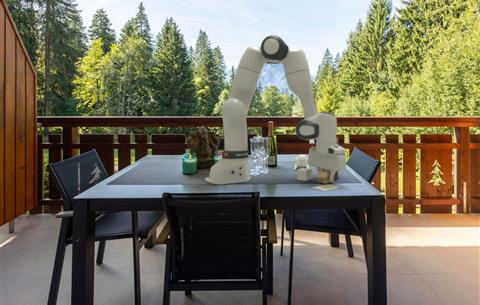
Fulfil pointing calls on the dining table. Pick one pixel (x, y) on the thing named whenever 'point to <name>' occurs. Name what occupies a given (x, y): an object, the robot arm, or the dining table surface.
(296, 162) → the white figurine
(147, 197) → the dining table surface
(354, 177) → the dining table surface
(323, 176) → the oak cube
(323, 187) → the card
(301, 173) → the grey cube
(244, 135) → the robot arm
